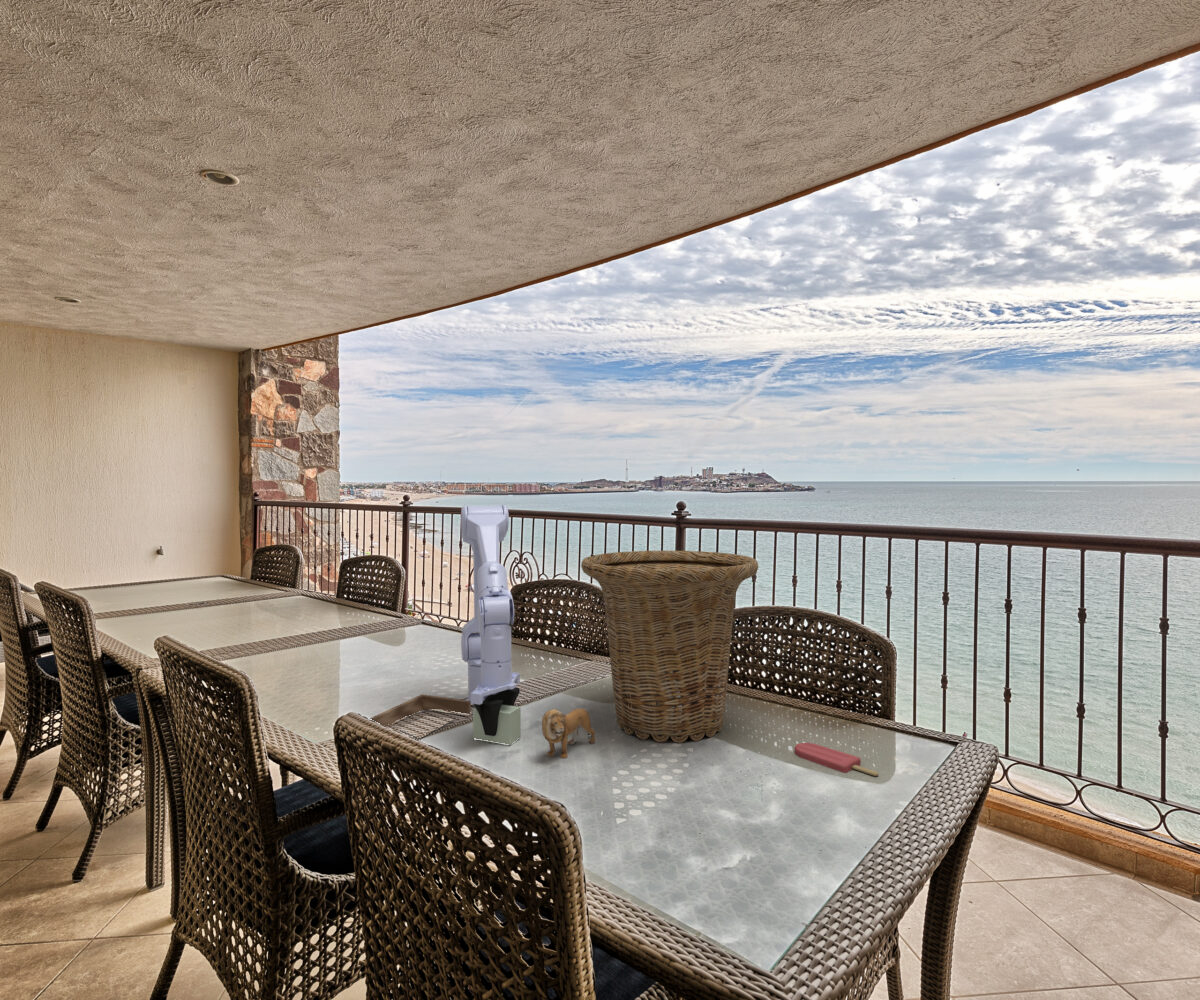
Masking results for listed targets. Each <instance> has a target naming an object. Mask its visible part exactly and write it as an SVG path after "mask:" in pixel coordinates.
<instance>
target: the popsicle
mask: <svg viewBox="0 0 1200 1000" xmlns="http://www.w3.org/2000/svg"><path fill="white" fill-rule="evenodd" d="M794 754H795V756H798V757H799V758H801V759H804V760H807V761H808V762H812V763H815V764H818V765H821V766H824V767H826V768H829V769H832V770H835V771H838V772H840V773H844V774H846V773H848V772H850V771H852V770H856V771H858V772H862V773H865V774H868V775H870V776H874V777H877V776H879V772H878V771H877V770H876V771H875V770H872V769H869V768H866V767H864V766H861V765H862V763H861V762H862V761H861V760H862V759H861V758H860V757H858V756H856V755H852V754H850V753H846V752H842V751H839V750H837V749H834V748H833V749H832V748H829V747H826V746H823V745H820V744H816V743H810V742H800V743H797V744H796V745H795V746H794Z"/></svg>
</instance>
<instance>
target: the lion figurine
mask: <svg viewBox="0 0 1200 1000" xmlns="http://www.w3.org/2000/svg"><path fill="white" fill-rule="evenodd" d="M540 724H541V730H542V735H543V737H544V739H545V740H546V741H547V742H548V744H549V745H548V746H549V749H550V750H549V751H547V754H546V755H547V756H548V757H553V756H555V752H556V746H555V744H557V743H559V742H560V744H561V750H560V758H561V759H567V758H568V748H567V747H568V745H574V744H575V743H576V741H577V739H578V737H579V729H580V727H581V729H583V730H584V731H585V732H586V733H587V736H590V738H589V739H588V743H589V744H595V743H596V736H595V735H596V734H595V730H594V729H593V728H592V725H591V718H590V716H589V712H588V711H587V710H586V709H584V708H575V709H573V710H572V711H570V712H569V713H567V714H566V715H565V714H564V713H563V712H561V711H559V710H558V709H555V708H554V709H553V708H552V709H549V710H547V711H546V712H545V713H544V714H543V716H542V717H541V723H540ZM571 735H572V738H571V739H569V740H568V737H569V736H571Z"/></svg>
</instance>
